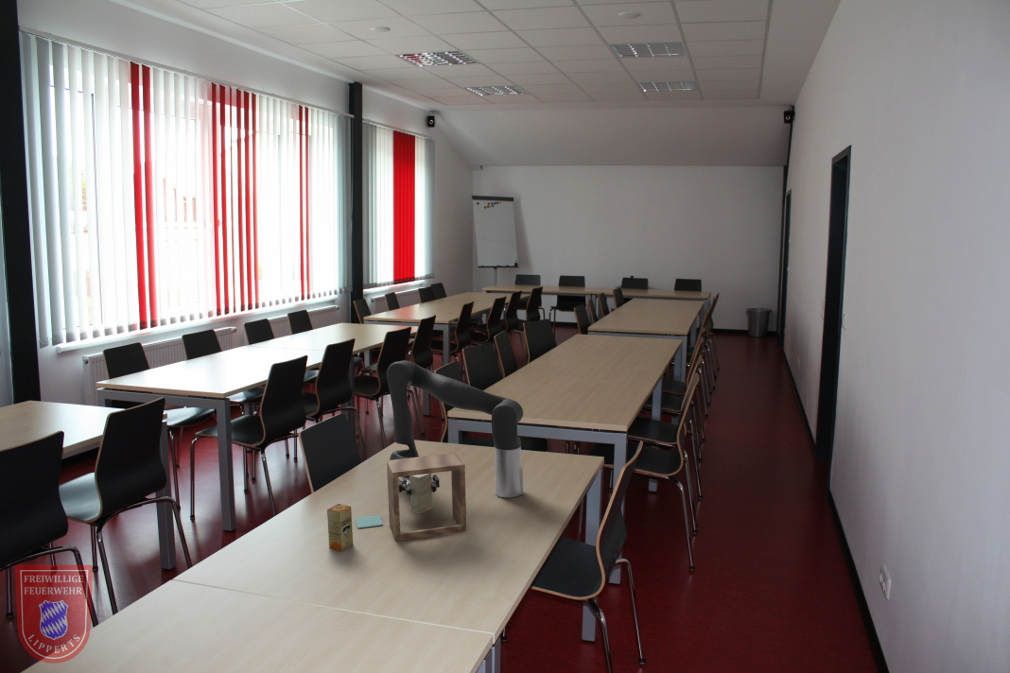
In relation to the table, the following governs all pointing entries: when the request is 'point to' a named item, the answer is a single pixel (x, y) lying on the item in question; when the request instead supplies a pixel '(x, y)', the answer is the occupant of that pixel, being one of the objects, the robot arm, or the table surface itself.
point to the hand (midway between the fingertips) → (422, 491)
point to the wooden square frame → (426, 467)
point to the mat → (368, 521)
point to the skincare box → (421, 493)
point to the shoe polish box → (340, 527)
